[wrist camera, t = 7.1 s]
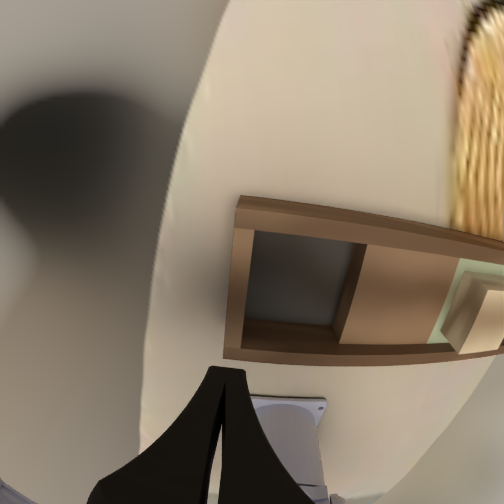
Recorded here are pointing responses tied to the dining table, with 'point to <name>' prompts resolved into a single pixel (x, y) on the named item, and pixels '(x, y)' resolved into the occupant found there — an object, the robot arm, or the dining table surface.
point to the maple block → (476, 314)
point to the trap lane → (345, 286)
